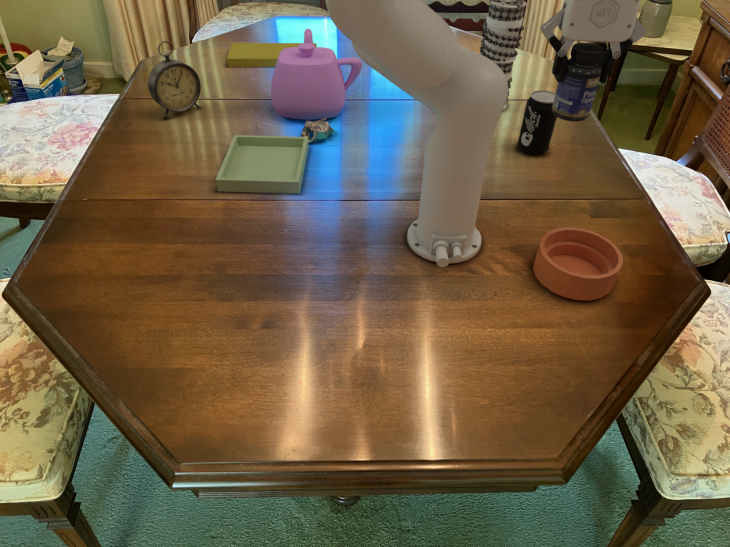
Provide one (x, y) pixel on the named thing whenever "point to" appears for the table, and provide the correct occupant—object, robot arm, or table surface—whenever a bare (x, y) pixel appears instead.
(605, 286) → the bowl
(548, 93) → the beverage can
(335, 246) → the table surface
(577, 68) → the pill bottle
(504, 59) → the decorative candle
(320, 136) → the ornament
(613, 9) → the robot arm
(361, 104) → the table surface
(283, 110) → the teapot
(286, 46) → the flat olive board
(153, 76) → the alarm clock
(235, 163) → the tray
